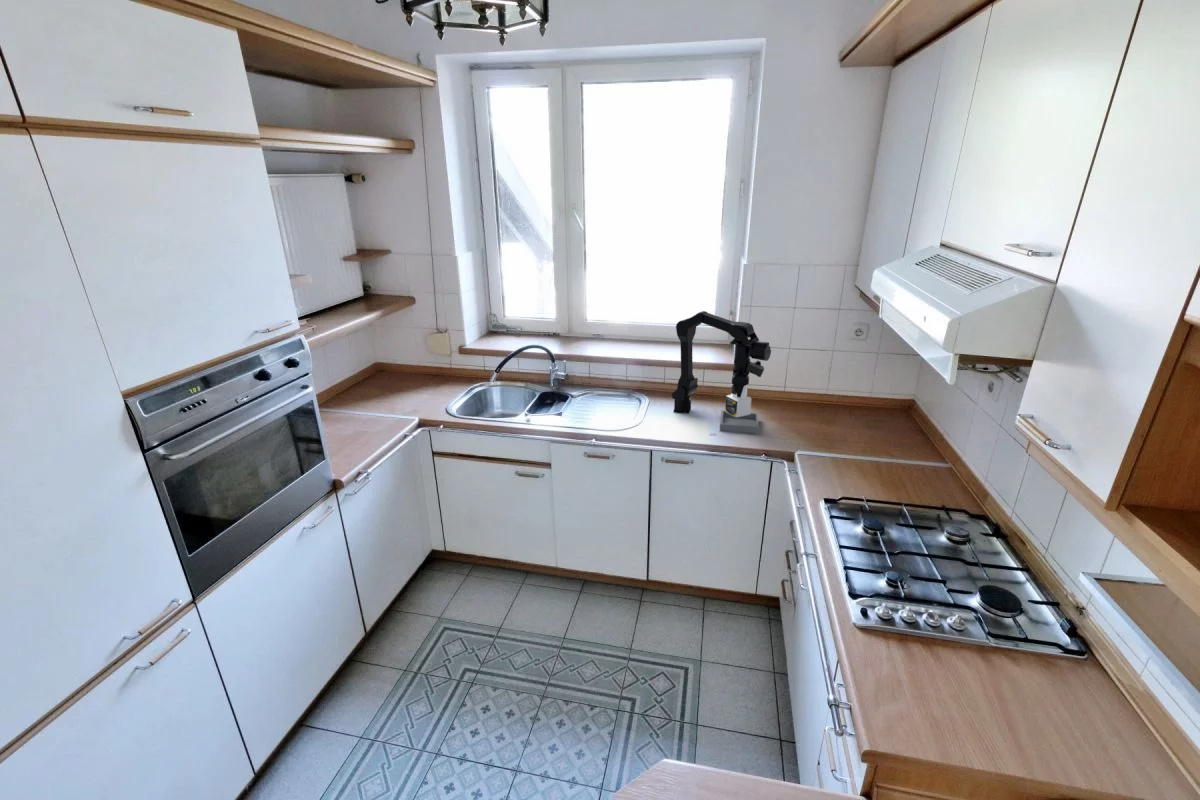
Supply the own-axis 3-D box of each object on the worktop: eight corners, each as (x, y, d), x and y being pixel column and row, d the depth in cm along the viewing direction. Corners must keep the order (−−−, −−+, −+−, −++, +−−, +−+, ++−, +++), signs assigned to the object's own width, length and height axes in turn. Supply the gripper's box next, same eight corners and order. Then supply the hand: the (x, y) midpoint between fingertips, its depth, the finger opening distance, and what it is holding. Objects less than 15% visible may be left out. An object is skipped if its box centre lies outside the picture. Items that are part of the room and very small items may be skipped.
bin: (719, 430, 221) (720, 423, 220) (721, 417, 234) (721, 410, 233) (758, 434, 218) (758, 427, 217) (757, 420, 231) (757, 413, 230)
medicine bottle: (724, 411, 226) (726, 383, 221) (739, 408, 228) (741, 380, 224) (735, 417, 220) (738, 388, 215) (750, 414, 222) (753, 386, 218)
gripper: (764, 364, 205) (760, 404, 211) (763, 350, 222) (759, 388, 228) (733, 362, 208) (730, 402, 213) (734, 349, 225) (731, 386, 230)
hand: (739, 394), depth 221 cm, fingers closed on medicine bottle, 6 cm apart
